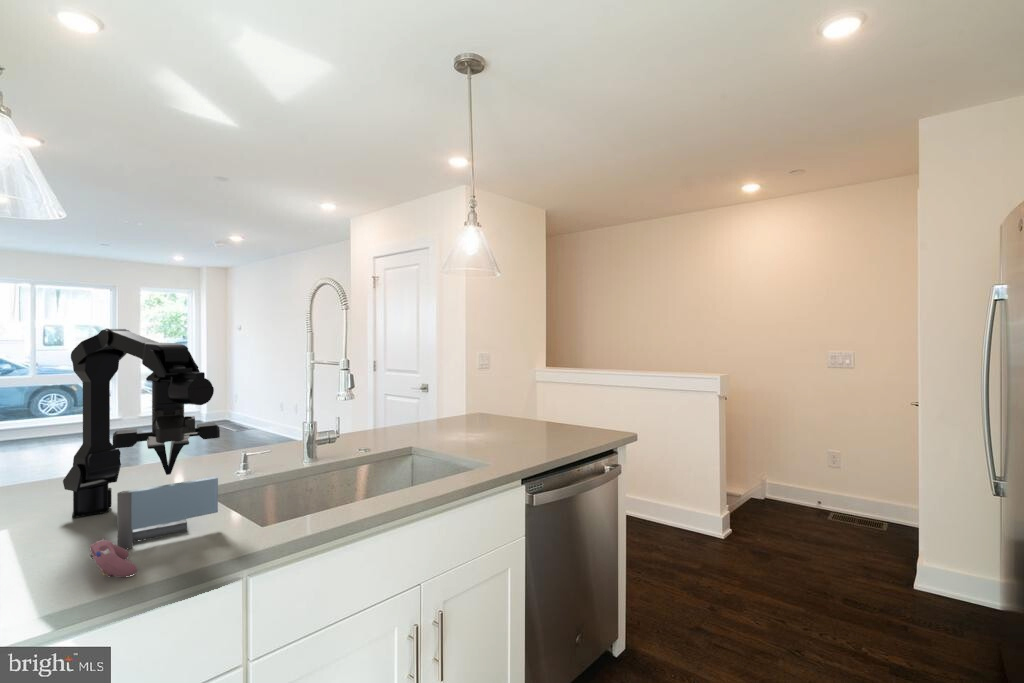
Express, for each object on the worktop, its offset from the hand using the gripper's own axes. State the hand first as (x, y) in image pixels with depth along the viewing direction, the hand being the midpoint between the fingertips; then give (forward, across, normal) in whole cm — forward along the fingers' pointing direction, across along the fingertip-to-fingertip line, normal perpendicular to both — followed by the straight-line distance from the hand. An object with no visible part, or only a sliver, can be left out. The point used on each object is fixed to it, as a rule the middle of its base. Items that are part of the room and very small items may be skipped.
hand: (168, 474), depth 108 cm
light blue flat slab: (+12, 0, -5) cm, 13 cm away
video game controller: (+12, -9, -17) cm, 23 cm away
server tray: (+12, -2, +5) cm, 13 cm away
